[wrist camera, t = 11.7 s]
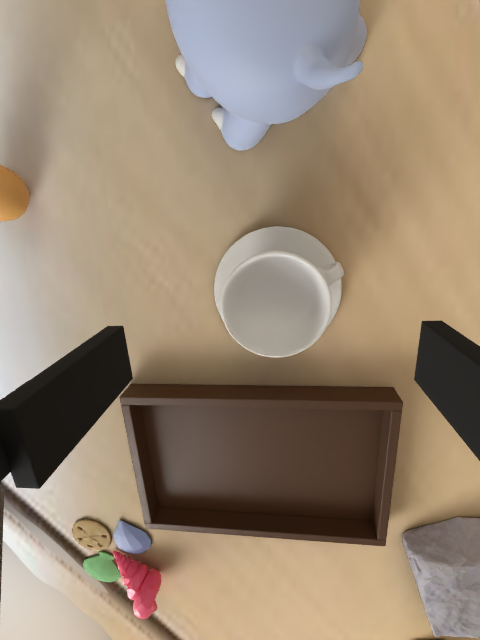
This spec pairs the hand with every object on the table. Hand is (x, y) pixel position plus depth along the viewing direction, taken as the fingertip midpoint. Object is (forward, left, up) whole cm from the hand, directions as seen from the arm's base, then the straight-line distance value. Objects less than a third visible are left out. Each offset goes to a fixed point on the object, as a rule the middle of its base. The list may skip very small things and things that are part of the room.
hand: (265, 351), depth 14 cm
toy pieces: (+32, -19, -12) cm, 39 cm away
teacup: (0, 0, -12) cm, 12 cm away
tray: (+17, -2, -12) cm, 21 cm away
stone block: (+29, +18, -12) cm, 36 cm away
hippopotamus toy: (-17, -1, -12) cm, 21 cm away
